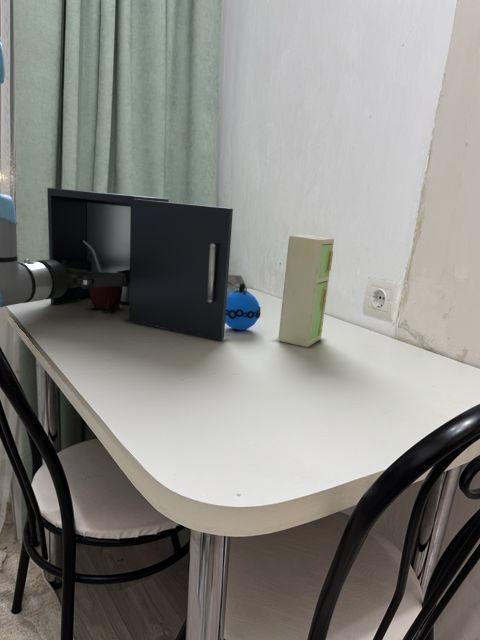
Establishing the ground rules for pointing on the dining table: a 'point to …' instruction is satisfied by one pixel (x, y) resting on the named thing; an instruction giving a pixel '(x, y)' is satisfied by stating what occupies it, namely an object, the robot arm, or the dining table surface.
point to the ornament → (241, 309)
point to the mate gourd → (104, 293)
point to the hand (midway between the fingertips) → (113, 271)
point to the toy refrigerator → (305, 289)
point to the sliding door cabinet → (148, 255)
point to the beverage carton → (234, 283)
